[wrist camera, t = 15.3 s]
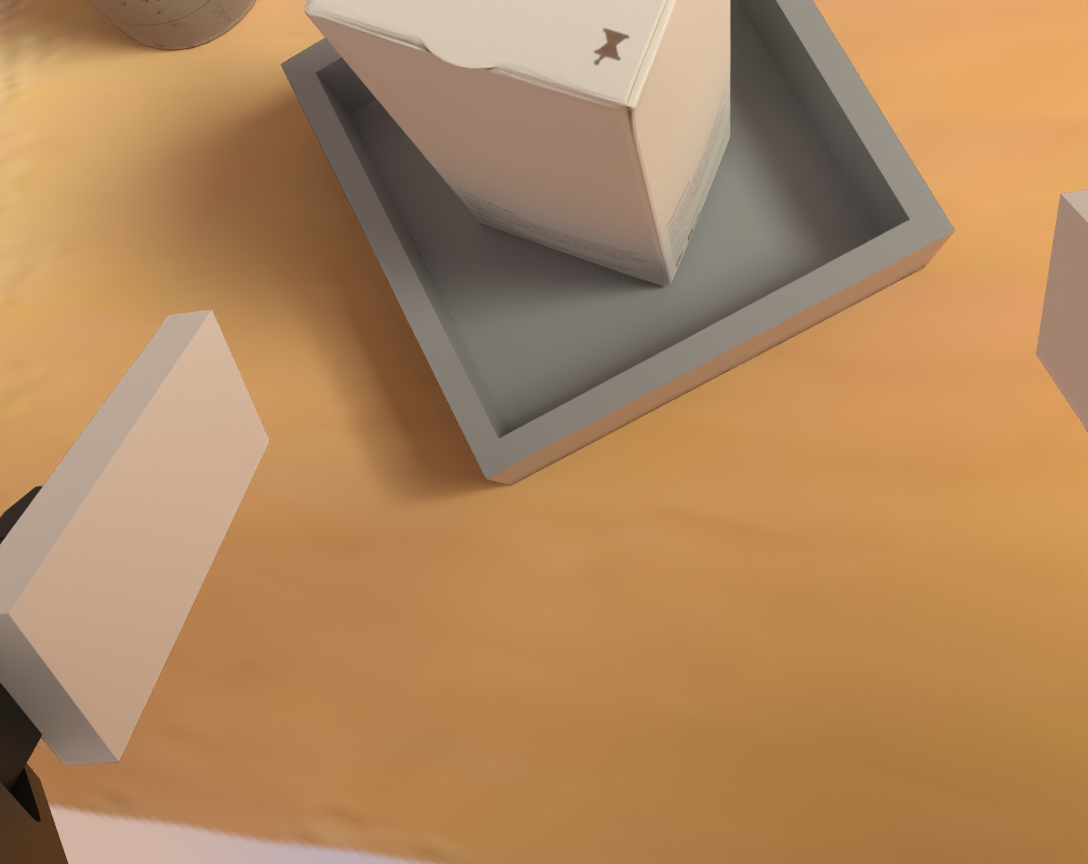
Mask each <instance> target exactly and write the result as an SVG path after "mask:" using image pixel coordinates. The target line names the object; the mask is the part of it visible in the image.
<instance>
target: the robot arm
mask: <svg viewBox="0 0 1088 864" xmlns="http://www.w3.org/2000/svg"><path fill="white" fill-rule="evenodd" d="M1036 355H1037V357H1038V358H1039V360H1040V361H1041V363H1042V364H1043V366H1044V367H1045V369H1046V370H1047V372H1048V373H1049V375H1050V376H1051V378H1052V379H1053V381H1054V382H1055V384H1056V385H1057V387H1058V388H1059V390H1060V391H1061V393H1062V394H1063V396H1064V397H1065V399H1066V400H1067V402H1068V403H1069V405H1070V406H1071V408H1072V409H1073V411H1074V412H1075V414H1076V415H1077V417H1078V418H1079V420H1080V421H1081V423H1082V424H1083V426H1084V427H1085V429H1086V430H1087V432H1088V190H1084V191H1076V192H1069V193H1062V194H1060V201H1059V208H1058V214H1057V221H1056V227H1055V234H1054V240H1053V247H1052V253H1051V260H1050V267H1049V273H1048V280H1047V286H1046V293H1045V299H1044V306H1043V312H1042V319H1041V325H1040V332H1039V339H1038V345H1037V352H1036ZM269 441H270V440H269V438H268V436H267V434H266V431H265V429H264V427H263V424H262V422H261V420H260V418H259V415H258V413H257V411H256V408H255V406H254V404H253V402H252V399H251V397H250V395H249V393H248V390H247V388H246V386H245V383H244V381H243V379H242V377H241V374H240V372H239V370H238V368H237V365H236V363H235V361H234V358H233V356H232V354H231V352H230V349H229V347H228V345H227V342H226V340H225V338H224V336H223V333H222V331H221V329H220V327H219V324H218V322H217V320H216V317H215V315H214V313H213V311H212V309H209V310H202V311H195V312H187V313H180V314H173V315H169V316H168V317H167V318H166V320H165V321H164V322H163V324H162V325H161V326H160V328H159V329H158V331H157V332H156V333H155V335H154V336H153V337H152V339H151V340H150V341H149V343H148V344H147V345H146V347H145V348H144V350H143V351H142V352H141V354H140V355H139V356H138V358H137V359H136V360H135V362H134V363H133V365H132V366H131V367H130V369H129V370H128V371H127V373H126V374H125V375H124V377H123V378H122V379H121V381H120V382H119V384H118V385H117V386H116V388H115V389H114V390H113V392H112V393H111V394H110V396H109V397H108V399H107V400H106V401H105V403H104V404H103V405H102V407H101V408H100V409H99V411H98V412H97V414H96V415H95V416H94V418H93V419H92V420H91V422H90V423H89V424H88V426H87V427H86V428H85V430H84V431H83V433H82V434H81V435H80V437H79V438H78V439H77V441H76V442H75V443H74V445H73V446H72V448H71V449H70V450H69V452H68V453H67V454H66V456H65V457H64V458H63V460H62V461H61V463H60V464H59V465H58V467H57V468H56V469H55V471H54V472H53V473H52V475H51V476H50V477H49V479H48V480H47V482H46V483H45V484H44V486H38V487H35V488H34V489H32V490H31V491H30V492H29V493H27V494H26V495H25V496H24V497H23V498H21V499H20V500H19V501H18V502H16V503H15V504H14V505H13V506H12V507H10V508H9V509H8V510H7V511H5V512H4V514H3V515H2V516H1V518H0V864H68V861H67V858H66V856H65V853H64V850H63V847H62V844H61V841H60V838H59V835H58V832H57V829H56V826H55V823H54V820H53V817H52V814H51V811H50V808H49V805H48V802H47V799H46V796H45V793H44V790H43V787H42V784H41V781H40V779H39V778H38V777H37V775H36V774H35V773H34V771H33V770H32V769H31V768H30V767H29V765H28V764H27V761H28V760H29V758H30V756H31V754H32V752H33V751H34V749H35V747H36V745H37V743H38V742H39V740H40V738H42V739H43V740H44V741H45V743H46V744H47V745H48V746H49V748H50V749H51V750H52V751H53V753H54V754H55V755H56V756H57V758H58V759H59V760H60V761H61V762H62V764H63V765H78V764H94V763H111V762H119V761H120V759H121V757H122V754H123V752H124V750H125V748H126V746H127V744H128V742H129V740H130V737H131V735H132V733H133V731H134V729H135V727H136V725H137V722H138V720H139V718H140V716H141V714H142V712H143V710H144V708H145V705H146V703H147V701H148V699H149V697H150V695H151V693H152V691H153V688H154V686H155V684H156V682H157V680H158V678H159V676H160V673H161V671H162V669H163V667H164V665H165V663H166V661H167V659H168V656H169V654H170V652H171V650H172V648H173V646H174V644H175V641H176V639H177V637H178V635H179V633H180V631H181V629H182V627H183V624H184V622H185V620H186V618H187V616H188V614H189V612H190V610H191V607H192V605H193V603H194V601H195V599H196V597H197V595H198V592H199V590H200V588H201V586H202V584H203V582H204V580H205V578H206V575H207V573H208V571H209V569H210V567H211V565H212V563H213V560H214V558H215V556H216V554H217V552H218V550H219V548H220V546H221V543H222V541H223V539H224V537H225V535H226V533H227V531H228V528H229V526H230V524H231V522H232V520H233V518H234V516H235V514H236V511H237V509H238V507H239V505H240V503H241V501H242V499H243V497H244V494H245V492H246V490H247V488H248V486H249V484H250V482H251V479H252V477H253V475H254V473H255V471H256V469H257V467H258V465H259V462H260V460H261V458H262V456H263V454H264V452H265V450H266V447H267V445H268V443H269Z"/></svg>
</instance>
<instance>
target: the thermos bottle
mask: <svg viewBox="0 0 1088 864" xmlns="http://www.w3.org/2000/svg"><path fill="white" fill-rule="evenodd" d="M88 1H89V2H90V3H91V4H92V5H93V6H94V7H96V8H97V9H98V10H99V11H100V12H101V13H102V14H104V15H105V16H106V17H107V18H108V19H109V20H110V21H112V22H113V23H114V24H115V25H116V26H117V27H119V28H120V29H121V30H122V31H123V32H124V33H125V34H127V35H128V36H130V37H131V38H133V39H135V40H137V41H138V42H140V43H142V44H145V45H149V46H152V47H156V48H161V49H175V50H176V49H184V48H191V47H195V46H198V45H201V44H204V43H207V42H210V41H212V40H214V39H215V38H217V37H219V36H221V35H223V34H224V33H226V32H227V31H228V30H230V29H231V28H232V27H233V26H235V25H236V24H237V23H238V22H240V20H241V19H242V18H243V17H244V16H245V15H246V14H247V12H248V11H249V10H250V9H251V8H252V6H253V5H254V3H255V1H256V0H88Z"/></svg>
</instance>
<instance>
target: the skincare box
mask: <svg viewBox="0 0 1088 864" xmlns="http://www.w3.org/2000/svg"><path fill="white" fill-rule="evenodd" d="M305 13H306V15H307V16H308V17H309V18H310V20H311V21H312V22H313V23H314V24H315V25H316V27H317V28H318V29H319V30H320V31H321V33H322V34H323V35H324V36H325V37H326V39H327V40H328V41H329V42H330V43H331V45H332V46H333V47H334V48H335V50H336V51H337V52H338V53H339V54H340V56H341V57H342V58H343V59H344V60H345V62H346V63H347V64H348V65H349V66H350V67H351V69H352V70H353V71H354V72H355V73H356V75H357V76H358V77H359V78H360V79H361V81H362V82H363V83H364V84H365V85H366V87H367V88H368V89H369V90H370V91H371V93H372V94H373V95H374V96H375V97H376V99H377V100H378V101H379V102H380V103H381V105H382V106H383V107H384V108H385V109H386V111H387V112H388V113H389V114H390V115H391V117H392V118H393V119H394V120H395V121H396V123H397V124H398V125H399V126H400V127H401V129H402V130H403V131H404V132H405V133H406V135H407V136H408V137H409V138H410V139H411V141H412V142H413V143H414V144H415V145H416V147H417V148H418V149H419V150H420V151H421V153H422V154H423V155H424V156H425V158H426V159H427V160H428V161H429V162H430V164H431V165H432V166H433V167H434V168H435V169H436V171H437V172H438V173H439V174H440V175H441V177H442V178H443V179H444V180H445V181H446V183H447V184H448V185H449V186H450V187H451V189H452V190H453V191H454V192H455V193H456V195H457V196H458V197H459V198H460V199H461V201H462V202H463V203H464V204H465V206H466V207H467V208H468V209H469V211H470V212H471V213H472V214H473V215H474V217H475V218H476V219H477V221H478V222H480V223H482V224H485V225H487V226H490V227H493V228H495V229H498V230H501V231H504V232H507V233H509V234H512V235H515V236H518V237H521V238H523V239H526V240H529V241H532V242H535V243H538V244H540V245H543V246H546V247H549V248H552V249H555V250H558V251H560V252H563V253H566V254H569V255H572V256H575V257H578V258H580V259H583V260H586V261H589V262H592V263H595V264H598V265H601V266H604V267H606V268H609V269H612V270H615V271H618V272H621V273H624V274H627V275H630V276H633V277H636V278H639V279H642V280H645V281H649V282H652V283H655V284H658V285H661V286H668V285H670V284H671V283H672V281H673V278H674V276H675V274H676V272H677V269H678V267H679V265H680V262H681V260H682V257H683V255H684V253H685V250H686V248H687V245H688V243H689V240H690V238H691V236H692V233H693V231H694V228H695V226H696V223H697V221H698V218H699V216H700V213H701V211H702V208H703V206H704V203H705V201H706V198H707V195H708V193H709V190H710V188H711V185H712V183H713V180H714V178H715V175H716V173H717V170H718V168H719V165H720V162H721V160H722V157H723V155H724V152H725V149H726V147H727V144H728V142H729V139H730V0H308V1H307V3H306V5H305Z"/></svg>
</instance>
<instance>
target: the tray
mask: <svg viewBox="0 0 1088 864" xmlns="http://www.w3.org/2000/svg"><path fill="white" fill-rule="evenodd" d="M281 66H282V68H283V70H284V72H285V74H286V76H287V78H288V80H289V82H290V84H291V86H292V88H293V90H294V92H295V94H296V96H297V98H298V100H299V102H300V104H301V106H302V109H303V111H304V113H305V115H306V117H307V119H308V121H309V123H310V125H311V127H312V129H313V131H314V133H315V135H316V137H317V139H318V141H319V143H320V145H321V147H322V149H323V151H324V153H325V155H326V157H327V159H328V161H329V163H330V165H331V167H332V169H333V171H334V173H335V175H336V177H337V179H338V181H339V183H340V185H341V187H342V189H343V191H344V193H345V195H346V197H347V199H348V202H349V204H350V206H351V208H352V210H353V212H354V214H355V216H356V218H357V220H358V222H359V224H360V226H361V228H362V230H363V232H364V234H365V236H366V238H367V240H368V242H369V244H370V246H371V248H372V250H373V252H374V254H375V256H376V258H377V260H378V262H379V264H380V266H381V268H382V270H383V272H384V274H385V276H386V278H387V280H388V282H389V284H390V286H391V288H392V290H393V293H394V295H395V297H396V299H397V301H398V303H399V305H400V307H401V309H402V311H403V313H404V315H405V317H406V319H407V321H408V323H409V325H410V327H411V329H412V331H413V333H414V335H415V337H416V339H417V341H418V343H419V345H420V347H421V349H422V351H423V353H424V355H425V357H426V359H427V361H428V363H429V365H430V367H431V369H432V371H433V373H434V375H435V377H436V379H437V381H438V383H439V386H440V388H441V390H442V392H443V394H444V396H445V398H446V400H447V402H448V404H449V406H450V408H451V410H452V412H453V414H454V416H455V418H456V420H457V422H458V424H459V426H460V428H461V430H462V432H463V434H464V436H465V438H466V440H467V442H468V444H469V446H470V448H471V450H472V452H473V454H474V456H475V458H476V460H477V462H478V464H479V466H480V468H481V470H482V472H483V474H484V477H485V479H488V480H492V481H495V482H499V483H503V484H507V485H513V484H515V483H517V482H518V481H520V480H522V479H524V478H526V477H528V476H530V475H532V474H534V473H535V472H537V471H539V470H541V469H543V468H545V467H547V466H549V465H551V464H553V463H554V462H556V461H558V460H560V459H562V458H564V457H566V456H568V455H570V454H572V453H573V452H575V451H577V450H579V449H581V448H583V447H585V446H587V445H589V444H590V443H592V442H594V441H596V440H598V439H600V438H602V437H604V436H606V435H608V434H609V433H611V432H613V431H615V430H617V429H619V428H621V427H623V426H625V425H627V424H628V423H630V422H632V421H634V420H636V419H638V418H640V417H642V416H644V415H645V414H647V413H649V412H651V411H653V410H655V409H657V408H659V407H661V406H663V405H664V404H666V403H668V402H670V401H672V400H674V399H676V398H678V397H680V396H682V395H683V394H685V393H687V392H689V391H691V390H693V389H695V388H697V387H699V386H700V385H702V384H704V383H706V382H708V381H710V380H712V379H714V378H716V377H718V376H719V375H721V374H723V373H725V372H727V371H729V370H731V369H733V368H735V367H737V366H738V365H740V364H742V363H744V362H746V361H748V360H750V359H752V358H754V357H755V356H757V355H759V354H761V353H763V352H765V351H767V350H769V349H771V348H773V347H774V346H776V345H778V344H780V343H782V342H784V341H786V340H788V339H790V338H792V337H793V336H795V335H797V334H799V333H801V332H803V331H805V330H807V329H809V328H810V327H812V326H814V325H816V324H818V323H820V322H822V321H824V320H826V319H828V318H829V317H831V316H833V315H835V314H837V313H839V312H841V311H843V310H845V309H847V308H848V307H850V306H852V305H854V304H856V303H858V302H860V301H862V300H864V299H865V298H867V297H869V296H871V295H873V294H875V293H877V292H879V291H881V290H883V289H884V288H886V287H888V286H890V285H892V284H894V283H896V282H898V281H900V280H902V279H903V278H905V277H907V276H909V275H911V274H913V273H915V272H917V271H919V270H920V269H922V268H924V267H925V266H926V264H927V263H928V262H929V261H930V260H931V258H932V257H933V256H934V255H935V254H936V253H937V251H938V250H939V249H940V248H941V247H942V245H943V244H944V243H945V242H946V241H947V239H948V238H949V237H950V236H951V235H952V234H953V232H954V231H955V229H954V228H953V226H952V225H951V223H950V221H949V220H948V218H947V217H946V215H945V213H944V212H943V210H942V208H941V207H940V205H939V204H938V202H937V200H936V199H935V197H934V196H933V194H932V192H931V191H930V189H929V187H928V186H927V184H926V183H925V181H924V179H923V178H922V176H921V175H920V173H919V171H918V170H917V168H916V166H915V165H914V163H913V162H912V160H911V158H910V157H909V155H908V154H907V152H906V150H905V149H904V147H903V145H902V144H901V142H900V141H899V139H898V137H897V136H896V134H895V133H894V131H893V129H892V128H891V126H890V124H889V123H888V121H887V120H886V118H885V116H884V115H883V113H882V112H881V110H880V108H879V107H878V105H877V103H876V102H875V100H874V99H873V97H872V95H871V94H870V92H869V91H868V89H867V87H866V86H865V84H864V82H863V81H862V79H861V78H860V76H859V74H858V73H857V71H856V70H855V68H854V66H853V65H852V63H851V61H850V60H849V58H848V57H847V55H846V53H845V52H844V50H843V49H842V47H841V45H840V44H839V42H838V40H837V39H836V37H835V36H834V34H833V32H832V31H831V29H830V28H829V26H828V24H827V23H826V21H825V19H824V18H823V16H822V15H821V13H820V11H819V10H818V8H817V7H816V5H815V3H814V2H813V0H730V139H729V142H728V144H727V147H726V149H725V152H724V155H723V157H722V160H721V162H720V165H719V168H718V170H717V173H716V175H715V178H714V180H713V183H712V185H711V188H710V190H709V193H708V195H707V198H706V201H705V203H704V206H703V208H702V211H701V213H700V216H699V218H698V221H697V223H696V226H695V228H694V231H693V233H692V236H691V238H690V240H689V243H688V245H687V248H686V250H685V253H684V255H683V257H682V260H681V262H680V265H679V267H678V269H677V272H676V274H675V276H674V278H673V281H672V283H671V284H670V285H668V286H661V285H658V284H655V283H652V282H649V281H645V280H642V279H639V278H636V277H633V276H630V275H627V274H624V273H621V272H618V271H615V270H612V269H609V268H606V267H604V266H601V265H598V264H595V263H592V262H589V261H586V260H583V259H580V258H578V257H575V256H572V255H569V254H566V253H563V252H560V251H558V250H555V249H552V248H549V247H546V246H543V245H540V244H538V243H535V242H532V241H529V240H526V239H523V238H521V237H518V236H515V235H512V234H509V233H507V232H504V231H501V230H498V229H495V228H493V227H490V226H487V225H485V224H482V223H480V222H478V221H477V219H476V218H475V217H474V215H473V214H472V213H471V212H470V211H469V209H468V208H467V207H466V206H465V204H464V203H463V202H462V201H461V199H460V198H459V197H458V196H457V195H456V193H455V192H454V191H453V190H452V189H451V187H450V186H449V185H448V184H447V183H446V181H445V180H444V179H443V178H442V177H441V175H440V174H439V173H438V172H437V171H436V169H435V168H434V167H433V166H432V165H431V164H430V162H429V161H428V160H427V159H426V158H425V156H424V155H423V154H422V153H421V151H420V150H419V149H418V148H417V147H416V145H415V144H414V143H413V142H412V141H411V139H410V138H409V137H408V136H407V135H406V133H405V132H404V131H403V130H402V129H401V127H400V126H399V125H398V124H397V123H396V121H395V120H394V119H393V118H392V117H391V115H390V114H389V113H388V112H387V111H386V109H385V108H384V107H383V106H382V105H381V103H380V102H379V101H378V100H377V99H376V97H375V96H374V95H373V94H372V93H371V91H370V90H369V89H368V88H367V87H366V85H365V84H364V83H363V82H362V81H361V79H360V78H359V77H358V76H357V75H356V73H355V72H354V71H353V70H352V69H351V67H350V66H349V65H348V64H347V63H346V62H345V60H344V59H343V58H342V57H341V56H340V54H339V53H338V52H337V51H336V50H335V48H334V47H333V46H332V45H331V43H330V42H329V41H328V40H327V39H326V38H324V39H322V40H321V41H319V42H317V43H316V44H314V45H312V46H310V47H309V48H307V49H305V50H304V51H302V52H300V53H299V54H297V55H295V56H294V57H292V58H290V59H288V60H287V61H285V62H283V63H282V64H281Z"/></svg>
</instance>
